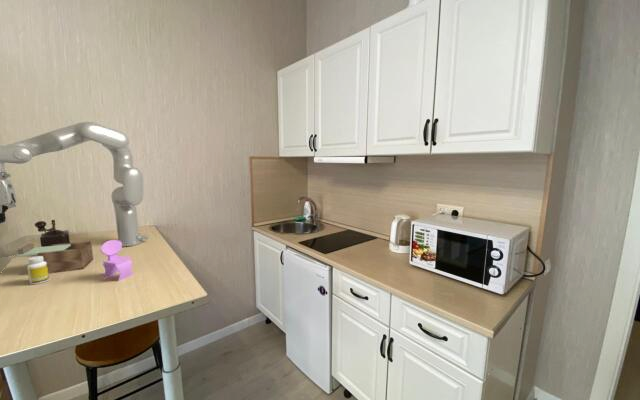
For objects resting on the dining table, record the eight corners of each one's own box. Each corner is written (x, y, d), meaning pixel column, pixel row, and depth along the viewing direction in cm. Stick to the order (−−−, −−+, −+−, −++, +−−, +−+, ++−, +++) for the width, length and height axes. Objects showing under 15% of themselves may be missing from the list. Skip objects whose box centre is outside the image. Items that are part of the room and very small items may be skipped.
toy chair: (116, 282, 107) (111, 245, 104) (100, 279, 110) (95, 243, 107) (136, 273, 115) (132, 239, 112) (120, 271, 117) (116, 237, 115)
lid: (70, 245, 124) (69, 239, 124) (61, 252, 116) (60, 246, 116) (29, 249, 119) (28, 243, 119) (16, 256, 111) (15, 250, 110)
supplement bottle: (52, 279, 109) (48, 256, 107) (35, 285, 104) (30, 261, 102) (44, 277, 111) (40, 254, 109) (26, 283, 106) (22, 259, 104)
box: (93, 259, 130) (90, 241, 128) (83, 269, 119) (80, 249, 117) (55, 263, 124) (52, 244, 123) (40, 274, 114) (37, 253, 112)
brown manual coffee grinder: (42, 251, 140) (36, 216, 137) (71, 246, 147) (66, 213, 144) (39, 260, 128) (33, 222, 125) (71, 254, 136) (66, 219, 133)
